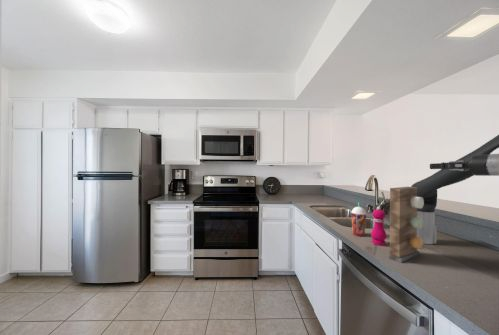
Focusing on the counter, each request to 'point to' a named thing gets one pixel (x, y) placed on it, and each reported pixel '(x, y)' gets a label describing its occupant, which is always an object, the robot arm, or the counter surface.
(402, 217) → the walnut button panel
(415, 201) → the cream button
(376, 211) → the pepper mill
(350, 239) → the counter surface
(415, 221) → the sage button
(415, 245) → the orange button
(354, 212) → the smoothie
